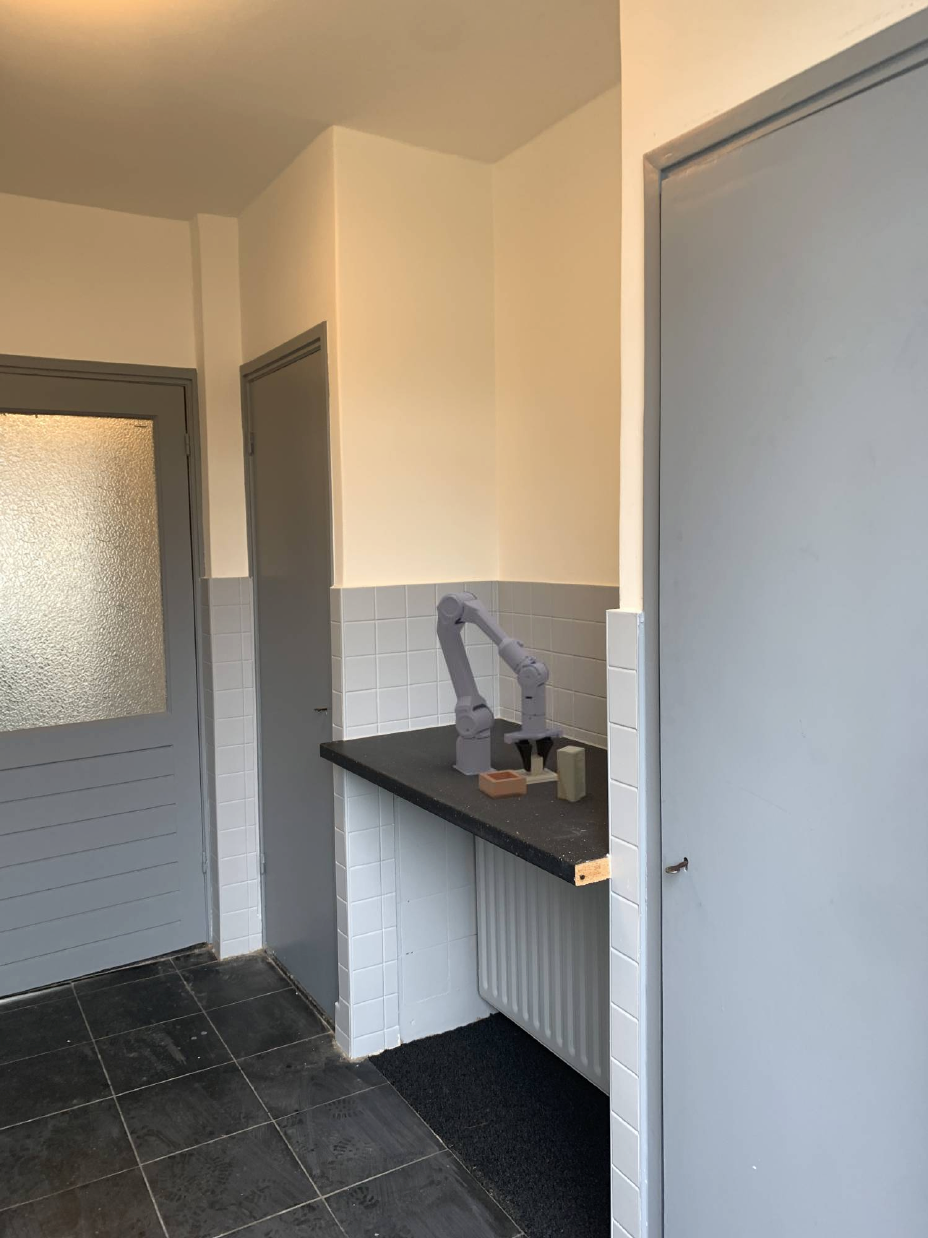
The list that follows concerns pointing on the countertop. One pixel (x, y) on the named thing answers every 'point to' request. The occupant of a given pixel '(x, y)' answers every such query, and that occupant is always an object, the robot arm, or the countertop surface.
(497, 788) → the dish
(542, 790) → the countertop surface
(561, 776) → the box
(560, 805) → the countertop surface
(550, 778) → the lid
